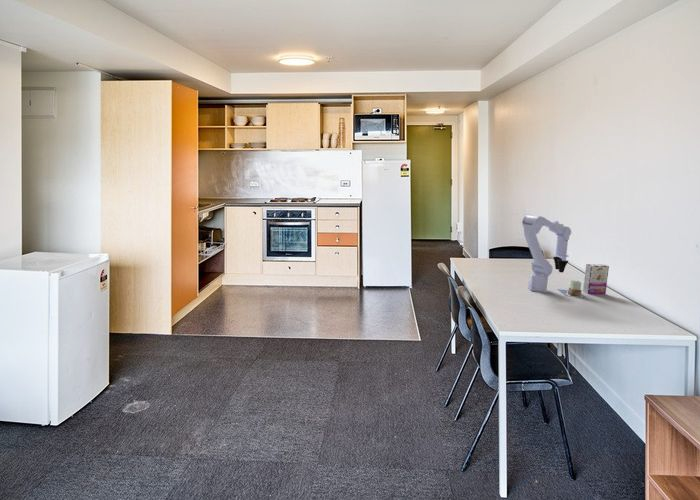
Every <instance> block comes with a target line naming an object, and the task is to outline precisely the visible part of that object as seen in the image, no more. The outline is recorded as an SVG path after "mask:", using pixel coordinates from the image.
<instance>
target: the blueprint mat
mask: <svg viewBox="0 0 700 500" xmlns="http://www.w3.org/2000/svg"><path fill="white" fill-rule="evenodd" d="M557 290H558V291H559V292H560V293H561V294H563V295H564V296H565V297H568V298H569V297H571V298H578V297H577V296H570V295H569V294H568V291H569V289H562V288H561V289H559V288H558V289H557ZM581 298H583V299H584V298H585V299H588V297H587V296H585V294H583V293H581V297H580V299H581Z"/></svg>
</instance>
